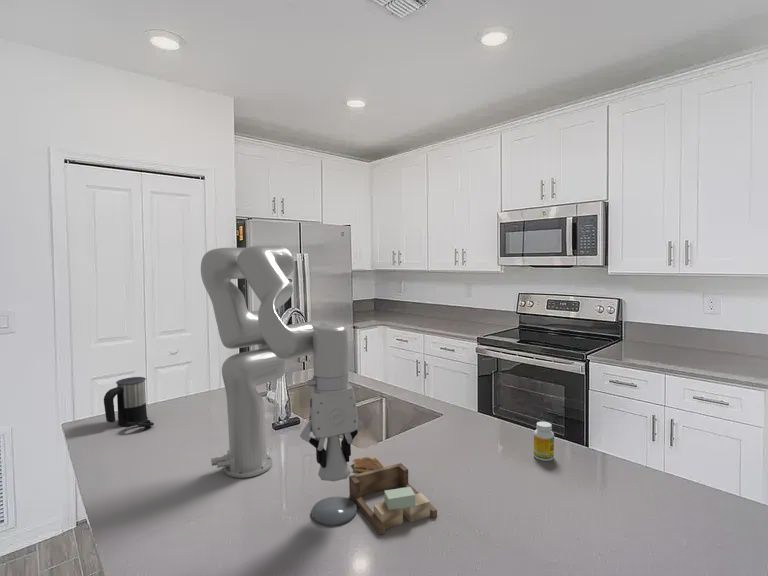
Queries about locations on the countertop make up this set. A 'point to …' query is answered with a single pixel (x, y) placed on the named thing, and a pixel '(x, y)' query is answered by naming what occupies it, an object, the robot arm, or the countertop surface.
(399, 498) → the sage painted offcut block
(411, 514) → the birch offcut block
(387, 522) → the oak offcut block
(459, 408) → the countertop surface
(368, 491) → the walnut rack
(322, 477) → the flask
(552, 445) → the supplement bottle
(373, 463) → the shard
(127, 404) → the milk frother
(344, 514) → the disc
